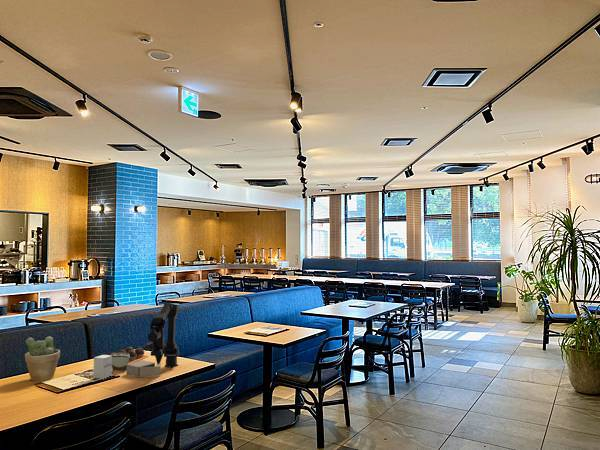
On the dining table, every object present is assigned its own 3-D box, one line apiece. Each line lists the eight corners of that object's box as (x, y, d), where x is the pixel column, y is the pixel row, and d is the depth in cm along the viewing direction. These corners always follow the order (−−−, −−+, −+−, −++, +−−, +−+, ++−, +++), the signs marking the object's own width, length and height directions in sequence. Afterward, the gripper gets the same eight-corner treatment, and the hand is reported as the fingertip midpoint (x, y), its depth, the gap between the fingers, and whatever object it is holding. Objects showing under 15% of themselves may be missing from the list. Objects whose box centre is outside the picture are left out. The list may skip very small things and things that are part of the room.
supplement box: (103, 379, 264) (103, 358, 265) (93, 378, 267) (93, 357, 267) (112, 376, 271) (112, 355, 272) (102, 375, 274) (102, 354, 274)
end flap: (160, 375, 272) (160, 358, 272) (160, 375, 271) (160, 359, 271) (139, 376, 269) (139, 360, 269) (139, 377, 268) (139, 360, 268)
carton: (143, 369, 285) (143, 360, 286) (155, 372, 279) (155, 362, 279) (126, 374, 275) (126, 364, 276) (138, 377, 269) (138, 367, 269)
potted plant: (48, 372, 280) (49, 332, 281) (66, 377, 270) (67, 335, 272) (17, 380, 264) (18, 337, 265) (36, 385, 255) (36, 340, 256)
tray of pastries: (128, 356, 322) (128, 344, 322) (148, 358, 318) (148, 345, 318) (101, 366, 295) (101, 353, 295) (122, 368, 291) (123, 355, 291)
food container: (133, 368, 289) (133, 352, 289) (128, 371, 283) (128, 355, 283) (115, 368, 290) (115, 352, 290) (110, 370, 284) (110, 354, 284)
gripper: (147, 334, 279) (147, 360, 279) (141, 342, 261) (141, 369, 261) (166, 334, 281) (166, 359, 281) (161, 341, 262) (161, 368, 262)
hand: (158, 363), depth 271 cm, fingers closed
